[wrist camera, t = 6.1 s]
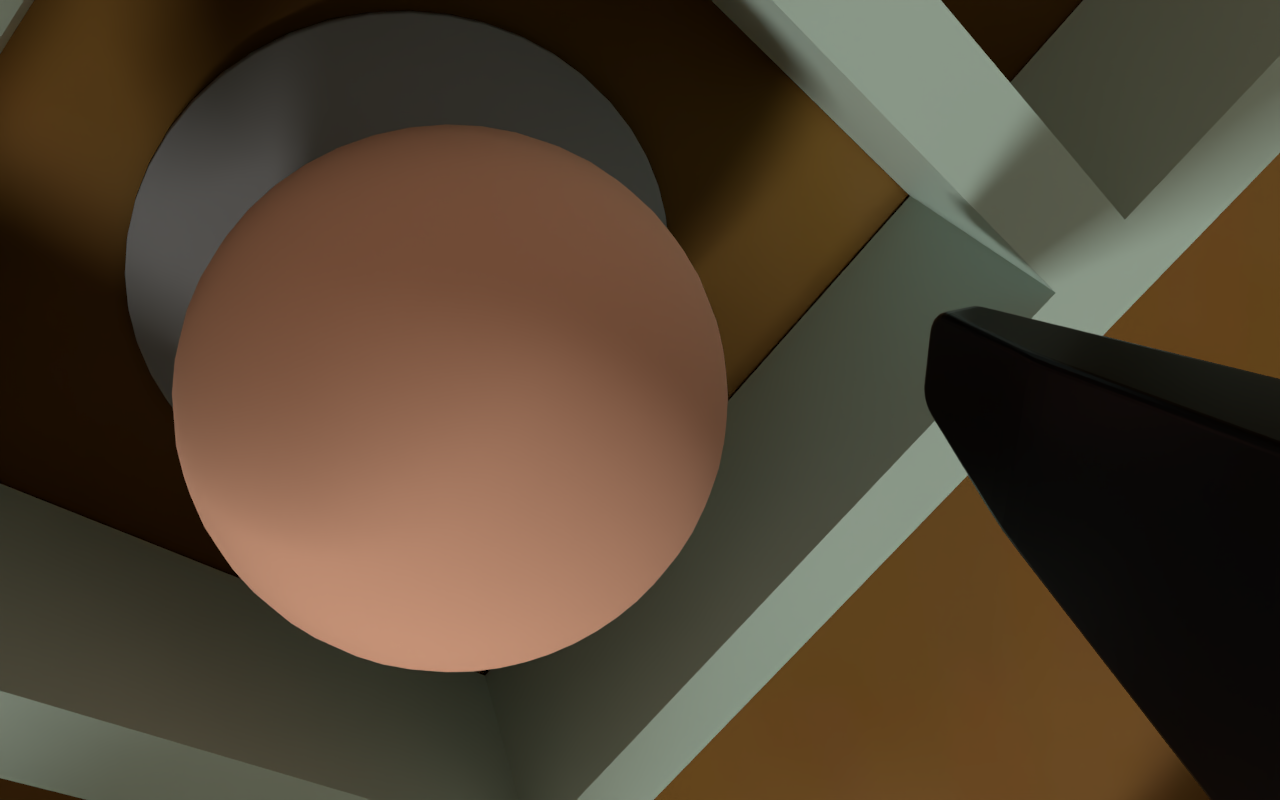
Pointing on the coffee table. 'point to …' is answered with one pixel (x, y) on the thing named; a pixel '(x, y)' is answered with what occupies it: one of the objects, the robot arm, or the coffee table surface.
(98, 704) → the sage green shelf frame
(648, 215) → the ball
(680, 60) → the coffee table surface
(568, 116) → the gray disc
